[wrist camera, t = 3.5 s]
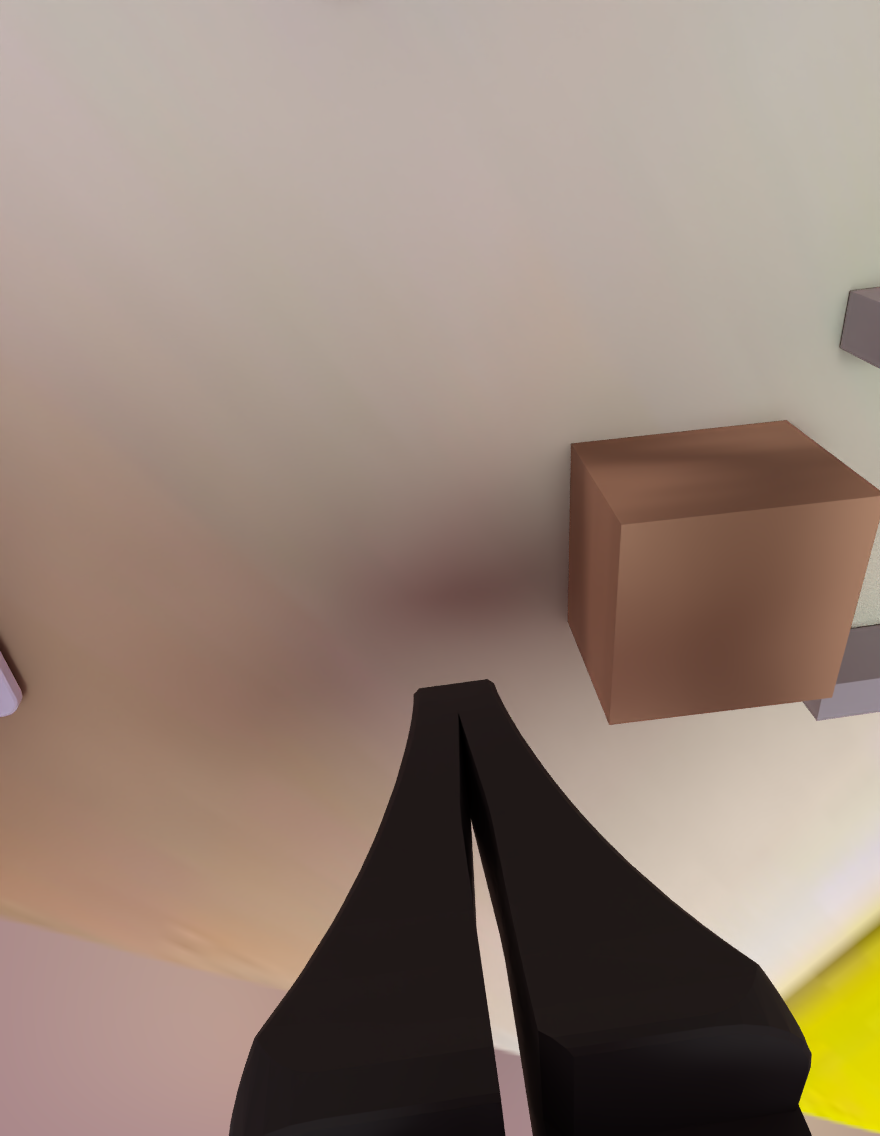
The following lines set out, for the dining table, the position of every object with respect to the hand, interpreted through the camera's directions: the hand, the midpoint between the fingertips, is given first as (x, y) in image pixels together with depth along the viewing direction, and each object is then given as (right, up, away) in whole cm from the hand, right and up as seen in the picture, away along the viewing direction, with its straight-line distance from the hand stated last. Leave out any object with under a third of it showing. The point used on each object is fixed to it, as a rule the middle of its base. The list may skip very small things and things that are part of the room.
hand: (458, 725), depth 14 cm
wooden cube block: (+5, +4, +5) cm, 8 cm away
